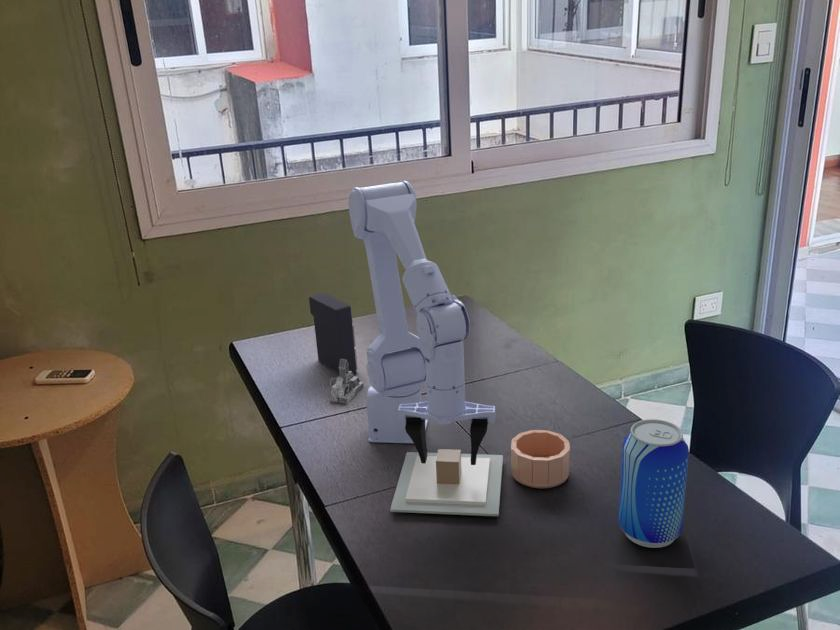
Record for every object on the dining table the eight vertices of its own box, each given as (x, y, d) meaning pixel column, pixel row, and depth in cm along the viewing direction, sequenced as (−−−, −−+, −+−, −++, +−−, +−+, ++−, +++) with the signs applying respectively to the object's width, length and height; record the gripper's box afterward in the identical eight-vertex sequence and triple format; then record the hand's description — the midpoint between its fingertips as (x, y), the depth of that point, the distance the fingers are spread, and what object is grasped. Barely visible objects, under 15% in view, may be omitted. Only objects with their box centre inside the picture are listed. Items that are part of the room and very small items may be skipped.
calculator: (360, 372, 160) (354, 304, 155) (342, 378, 158) (335, 310, 152) (332, 356, 169) (326, 291, 163) (315, 362, 166) (308, 296, 161)
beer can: (644, 558, 103) (651, 454, 97) (606, 523, 110) (610, 424, 104) (694, 540, 106) (704, 438, 100) (654, 507, 113) (661, 410, 107)
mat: (390, 511, 115) (390, 509, 115) (407, 454, 130) (406, 451, 130) (498, 516, 113) (498, 514, 113) (503, 457, 128) (503, 455, 127)
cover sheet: (405, 501, 117) (403, 475, 115) (417, 458, 128) (415, 434, 126) (485, 505, 115) (484, 478, 113) (490, 461, 126) (489, 436, 124)
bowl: (510, 487, 120) (510, 459, 118) (512, 455, 128) (512, 429, 126) (570, 489, 118) (570, 461, 116) (567, 457, 126) (568, 430, 125)
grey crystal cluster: (330, 378, 159) (326, 344, 156) (368, 384, 156) (365, 349, 153) (307, 398, 151) (303, 362, 148) (347, 404, 148) (344, 368, 145)
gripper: (392, 393, 112) (398, 473, 117) (493, 394, 110) (494, 476, 115) (400, 371, 119) (405, 449, 124) (495, 373, 117) (496, 451, 122)
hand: (448, 460), depth 120 cm, fingers open, 7 cm apart
